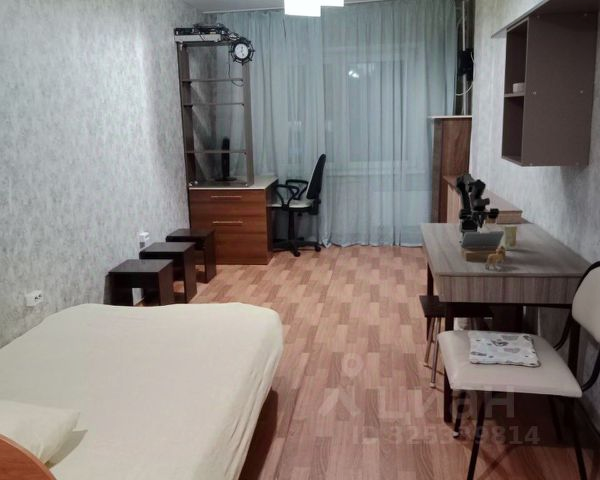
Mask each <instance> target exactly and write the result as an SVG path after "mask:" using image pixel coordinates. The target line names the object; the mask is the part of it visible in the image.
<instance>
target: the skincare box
mask: <svg viewBox="0 0 600 480" xmlns="http://www.w3.org/2000/svg"><path fill="white" fill-rule="evenodd" d="M517 227H518V226H517V225H515V224H506V225H505V224H504V225H501V229H500V230H501V231H503V232H504V234H503V236H502V239H501V241H500V243H499V246H503V247H504V248H505V251H510V250H511V251H512V250H516V242H517V241H516V240H517Z"/></svg>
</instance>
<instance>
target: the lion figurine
mask: <svg viewBox="0 0 600 480" xmlns="http://www.w3.org/2000/svg"><path fill="white" fill-rule="evenodd" d="M506 251H507V250H505V248H504V247H503V246H500V245H498V247H497V250H496V252H497V253H496V254H490V255H489V256H488V260H487V261H486V263H485V269H487V270H490V266H489V265H490V264H489V263H492V267H493V268H492V269H494V270H497V267H498V265H499V262H500V267H504V258H505V259H506ZM500 260H501V261H500Z"/></svg>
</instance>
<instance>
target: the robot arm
mask: <svg viewBox="0 0 600 480" xmlns="http://www.w3.org/2000/svg"><path fill="white" fill-rule="evenodd" d="M486 186H487V184H486V183H485V182H484V181H482V180H481V179H474V177H472V173H468V172H467V173H461V174H460V175H459V176H458V177H456V178H455V182H454V188H455V191H456V193H457V194H458V195H459V197H460V202H461V203H460V204H461V208H460V209H459V212H458V219H459V220H461V221H460V224H459V227H458V231H459V233H461V234H462V237H461V241H459V243H460V244H461V243H462V240H463V237H464V234H465V232H478V230H479V229H482V228H483V225H484V221H486V220H487V218H488V219H490V220H496V219H498V217H499V214H500V209H499V208H498V207H495V208H493V207H492V208H489V210H486V209H487V208H486V206H489V205H491V199H490V197H485V198H483V197H482V196H483V195H484V193H485V190H486V188H487V187H486ZM478 228H479V229H478Z"/></svg>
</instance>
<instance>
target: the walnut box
mask: <svg viewBox="0 0 600 480" xmlns="http://www.w3.org/2000/svg"><path fill="white" fill-rule="evenodd" d="M496 250H497V247H461V246H460V256H461V257H462V258H463V259H464V260H465V261H466V262H487V260H488V256H489V255H490V254H496V253H497V252H496ZM504 261H506V257H505V258H504ZM504 261H503V262H504ZM499 262H501V260H500V261H499Z"/></svg>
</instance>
